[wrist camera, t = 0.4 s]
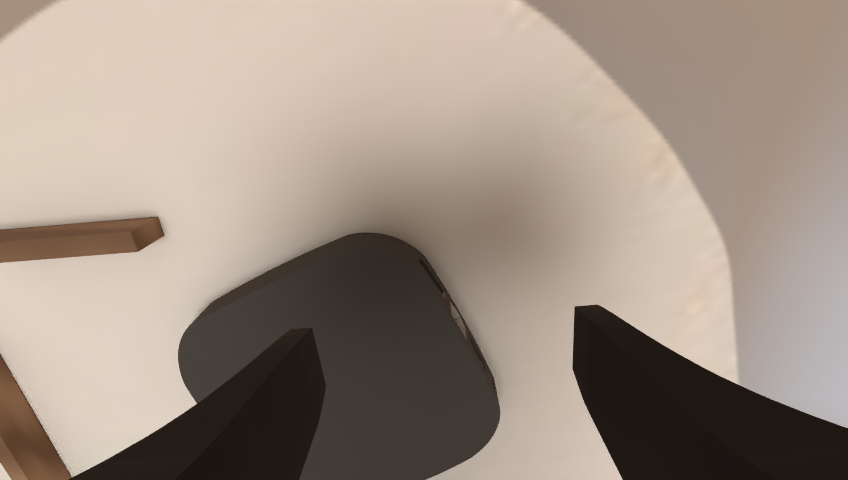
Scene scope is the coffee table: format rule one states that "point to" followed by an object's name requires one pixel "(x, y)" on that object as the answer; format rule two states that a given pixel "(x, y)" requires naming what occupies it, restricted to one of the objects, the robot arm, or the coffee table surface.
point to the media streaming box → (360, 357)
